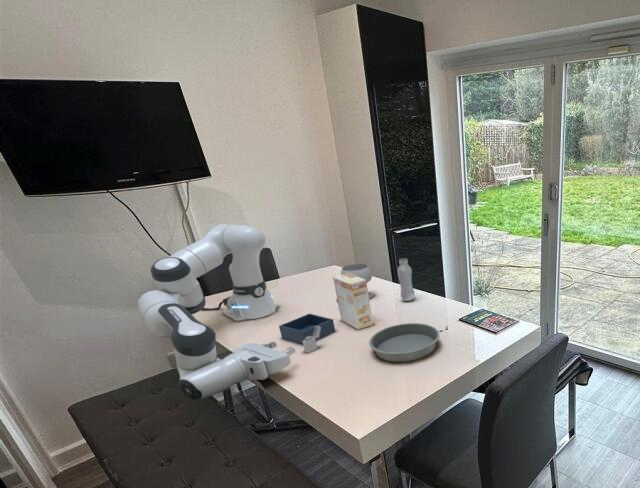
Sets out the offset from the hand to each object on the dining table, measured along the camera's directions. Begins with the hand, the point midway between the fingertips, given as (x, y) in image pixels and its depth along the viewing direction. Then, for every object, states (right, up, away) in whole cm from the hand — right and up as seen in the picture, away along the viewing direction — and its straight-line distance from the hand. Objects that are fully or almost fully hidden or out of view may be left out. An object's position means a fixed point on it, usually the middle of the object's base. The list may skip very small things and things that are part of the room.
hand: (284, 346), depth 138 cm
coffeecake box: (+12, +8, +33) cm, 36 cm away
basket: (-3, +3, +22) cm, 22 cm away
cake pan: (+39, -1, +11) cm, 40 cm away
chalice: (+3, +20, +60) cm, 64 cm away
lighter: (+5, -2, +11) cm, 12 cm away
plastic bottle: (+28, +18, +56) cm, 65 cm away
